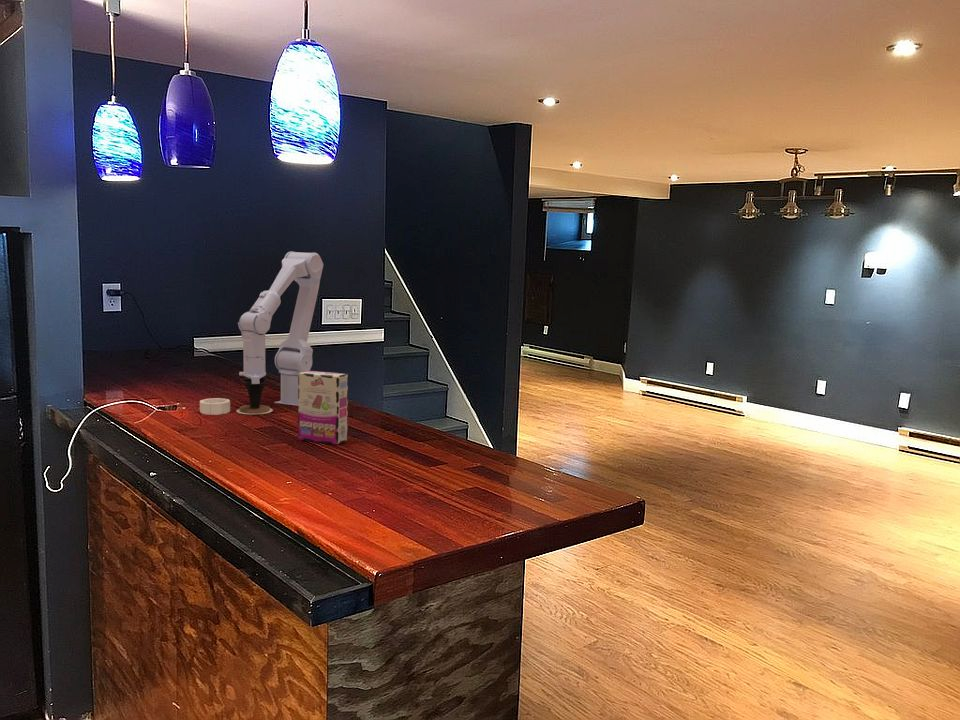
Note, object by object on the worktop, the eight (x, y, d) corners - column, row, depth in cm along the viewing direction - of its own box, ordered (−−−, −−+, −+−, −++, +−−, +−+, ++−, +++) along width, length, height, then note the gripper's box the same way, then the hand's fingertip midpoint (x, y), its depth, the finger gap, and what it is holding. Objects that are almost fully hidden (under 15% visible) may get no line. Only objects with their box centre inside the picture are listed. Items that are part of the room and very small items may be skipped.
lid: (275, 409, 216) (275, 390, 215) (257, 414, 208) (257, 395, 207) (251, 406, 218) (251, 388, 218) (233, 411, 211) (233, 392, 210)
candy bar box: (348, 440, 187) (349, 373, 185) (337, 445, 183) (338, 376, 180) (308, 435, 191) (308, 369, 189) (296, 439, 187) (297, 372, 184)
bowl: (235, 412, 212) (235, 400, 212) (217, 417, 205) (216, 405, 205) (213, 409, 215) (212, 397, 214) (194, 414, 208) (194, 402, 207)
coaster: (279, 411, 216) (279, 409, 216) (258, 417, 207) (258, 415, 207) (251, 407, 219) (251, 405, 219) (228, 413, 211) (228, 411, 210)
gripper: (238, 352, 217) (238, 400, 219) (239, 360, 203) (239, 411, 205) (264, 352, 219) (264, 399, 221) (267, 360, 205) (267, 410, 207)
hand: (254, 405), depth 213 cm, fingers open, 4 cm apart
